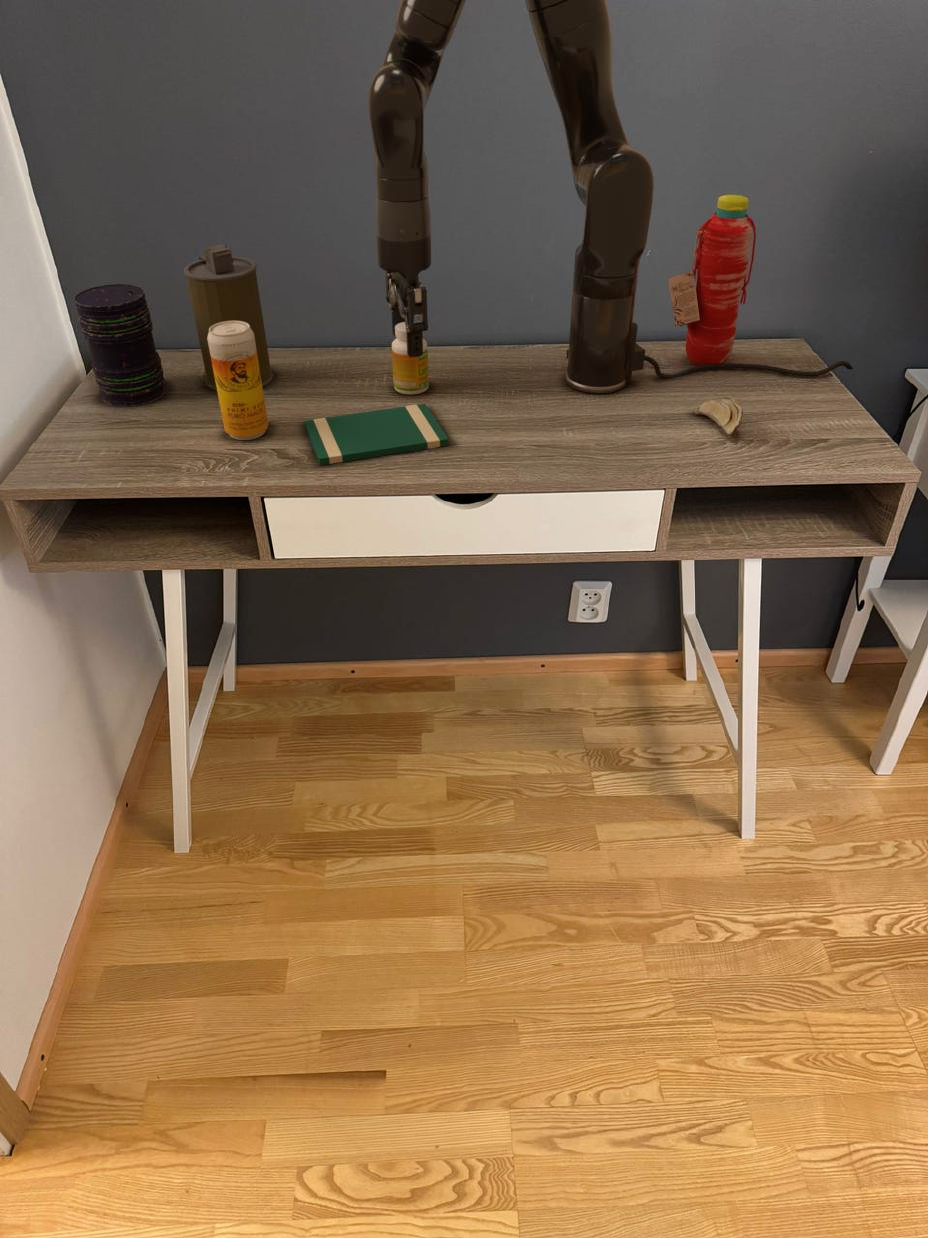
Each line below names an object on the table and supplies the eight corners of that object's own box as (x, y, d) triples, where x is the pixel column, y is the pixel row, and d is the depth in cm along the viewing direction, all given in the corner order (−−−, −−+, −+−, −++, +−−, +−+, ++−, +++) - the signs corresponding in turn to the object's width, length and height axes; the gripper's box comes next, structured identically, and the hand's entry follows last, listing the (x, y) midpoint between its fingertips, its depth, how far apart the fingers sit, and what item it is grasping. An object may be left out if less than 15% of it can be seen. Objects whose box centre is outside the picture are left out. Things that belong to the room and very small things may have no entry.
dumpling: (702, 448, 130) (751, 438, 121) (683, 437, 128) (732, 426, 119) (714, 412, 130) (764, 399, 121) (696, 400, 129) (745, 386, 120)
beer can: (232, 445, 122) (212, 339, 113) (220, 427, 126) (200, 324, 117) (274, 435, 124) (258, 330, 115) (261, 419, 129) (245, 316, 119)
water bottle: (665, 372, 141) (689, 203, 125) (655, 353, 147) (677, 190, 132) (740, 371, 141) (773, 202, 125) (727, 351, 147) (757, 189, 132)
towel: (425, 409, 131) (425, 402, 130) (449, 445, 122) (449, 438, 121) (304, 426, 127) (303, 420, 126) (319, 465, 118) (319, 458, 117)
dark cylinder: (104, 411, 131) (76, 310, 122) (97, 386, 138) (69, 289, 129) (172, 399, 134) (150, 300, 125) (162, 375, 141) (140, 280, 132)
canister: (284, 382, 139) (265, 249, 126) (221, 399, 134) (195, 262, 122) (255, 360, 146) (235, 232, 133) (195, 375, 141) (168, 244, 129)
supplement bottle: (424, 396, 134) (421, 333, 128) (390, 393, 135) (386, 331, 129) (432, 382, 138) (430, 320, 132) (399, 379, 139) (395, 318, 133)
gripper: (444, 243, 118) (445, 360, 128) (415, 216, 128) (418, 326, 139) (390, 247, 116) (395, 366, 126) (365, 220, 127) (371, 331, 137)
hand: (407, 345), depth 132 cm, fingers open, 8 cm apart
